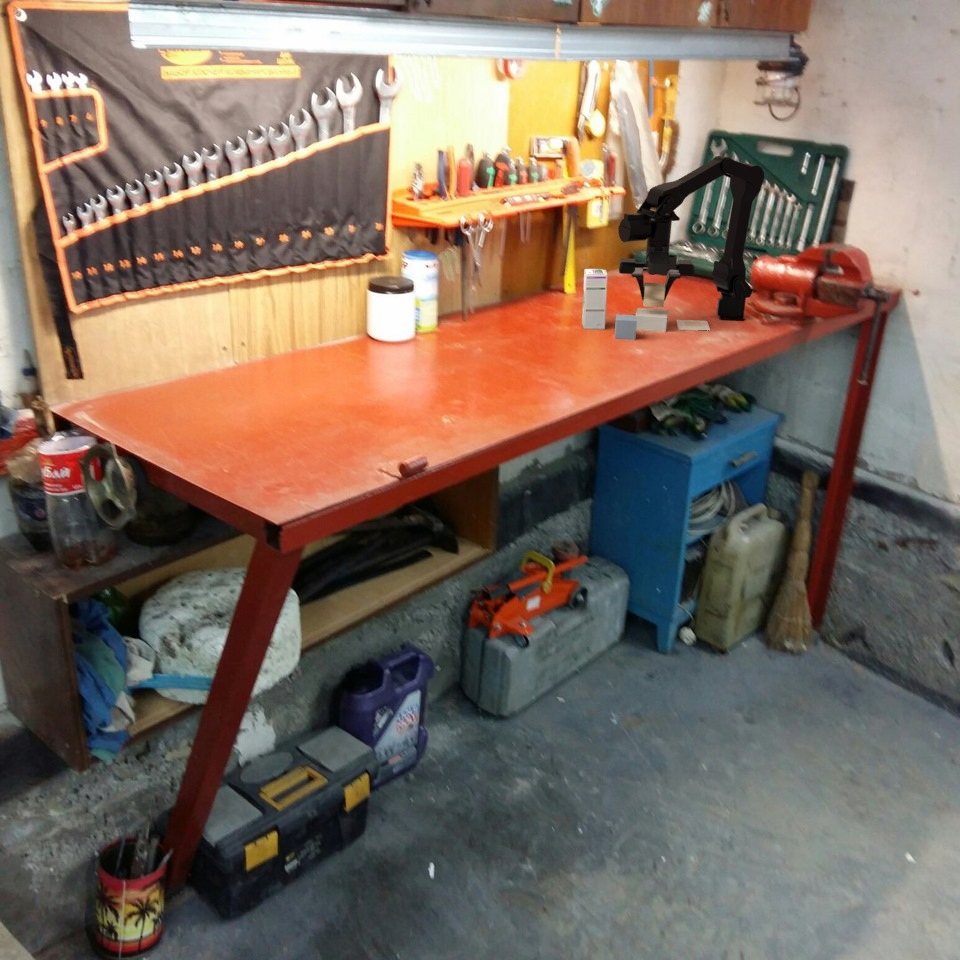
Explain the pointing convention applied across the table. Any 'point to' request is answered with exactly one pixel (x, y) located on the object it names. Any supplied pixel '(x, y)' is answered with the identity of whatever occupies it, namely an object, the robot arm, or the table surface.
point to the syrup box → (594, 298)
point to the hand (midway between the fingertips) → (653, 300)
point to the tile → (692, 325)
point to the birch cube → (654, 294)
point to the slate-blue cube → (625, 327)
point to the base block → (651, 319)
